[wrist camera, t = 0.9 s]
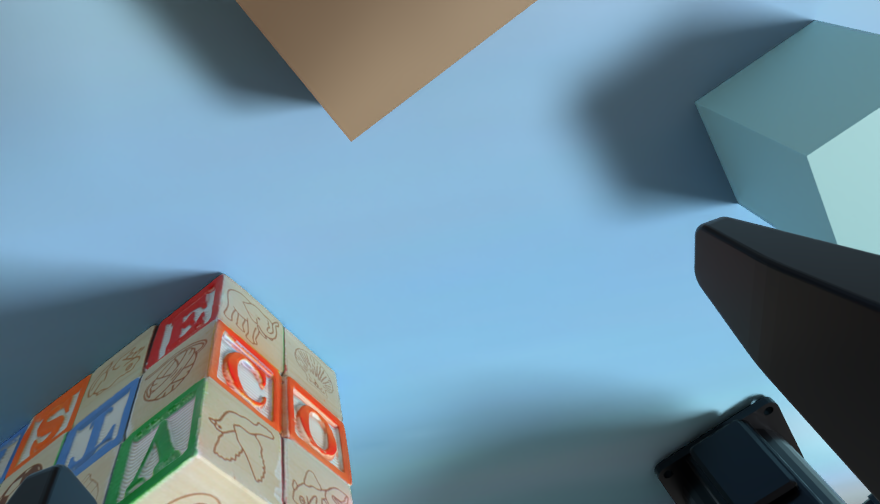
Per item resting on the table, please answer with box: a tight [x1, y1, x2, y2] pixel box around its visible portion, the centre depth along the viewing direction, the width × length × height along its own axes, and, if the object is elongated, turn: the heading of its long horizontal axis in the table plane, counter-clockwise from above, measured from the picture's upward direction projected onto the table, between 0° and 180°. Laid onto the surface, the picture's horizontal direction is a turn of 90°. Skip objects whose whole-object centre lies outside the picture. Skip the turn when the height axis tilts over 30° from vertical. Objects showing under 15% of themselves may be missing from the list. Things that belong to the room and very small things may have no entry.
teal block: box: [695, 20, 880, 255], centre depth 23 cm, size 5×5×6 cm
